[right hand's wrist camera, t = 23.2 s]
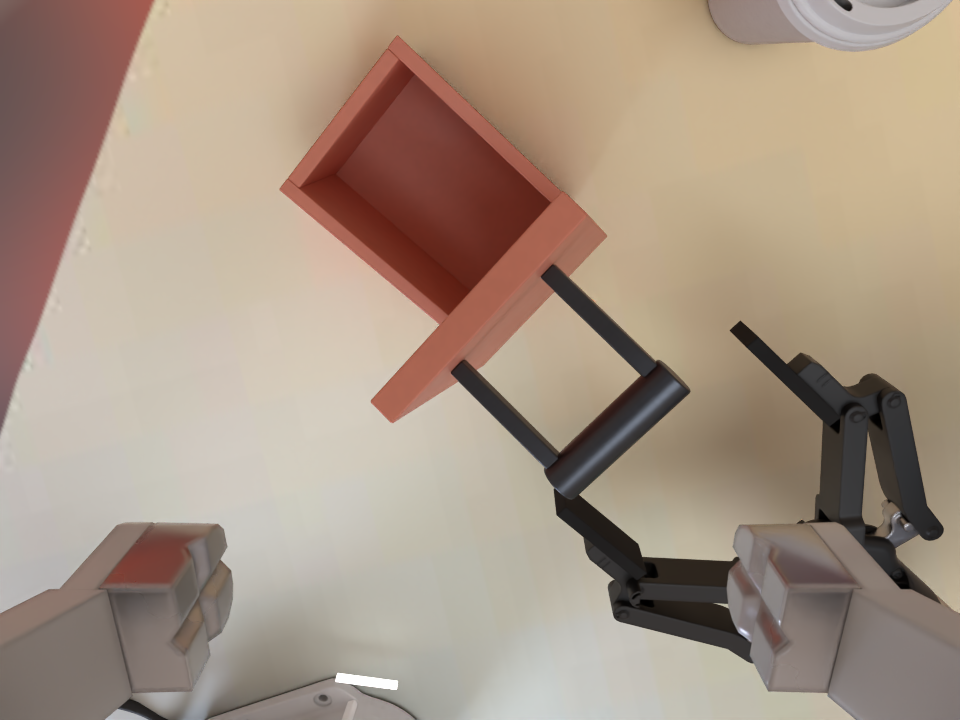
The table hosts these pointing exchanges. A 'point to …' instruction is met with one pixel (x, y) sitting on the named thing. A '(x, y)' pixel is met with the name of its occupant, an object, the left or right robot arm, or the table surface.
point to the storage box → (419, 183)
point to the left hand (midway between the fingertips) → (645, 419)
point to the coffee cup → (824, 21)
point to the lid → (500, 313)
